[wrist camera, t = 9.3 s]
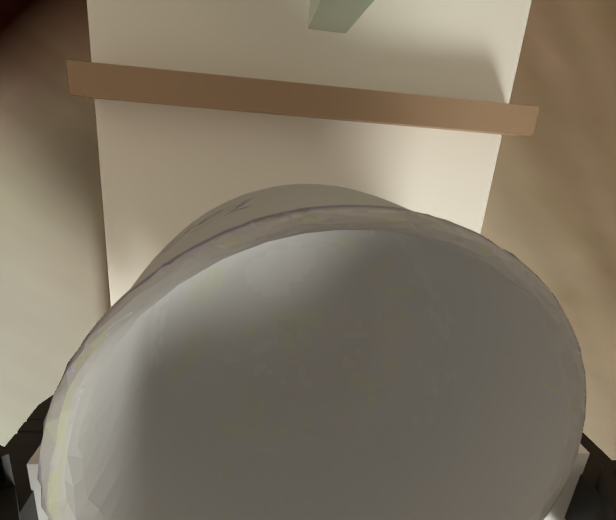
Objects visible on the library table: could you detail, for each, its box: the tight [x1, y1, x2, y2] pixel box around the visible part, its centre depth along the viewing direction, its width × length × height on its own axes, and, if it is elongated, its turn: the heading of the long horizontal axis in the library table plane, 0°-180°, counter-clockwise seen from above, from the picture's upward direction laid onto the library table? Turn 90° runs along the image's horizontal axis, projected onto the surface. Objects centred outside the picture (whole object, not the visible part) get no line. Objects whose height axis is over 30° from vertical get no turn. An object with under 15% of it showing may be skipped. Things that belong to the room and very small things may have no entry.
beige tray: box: [66, 0, 540, 307], centre depth 15 cm, size 16×37×3 cm, turn 175°
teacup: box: [37, 184, 586, 520], centre depth 12 cm, size 14×11×8 cm
